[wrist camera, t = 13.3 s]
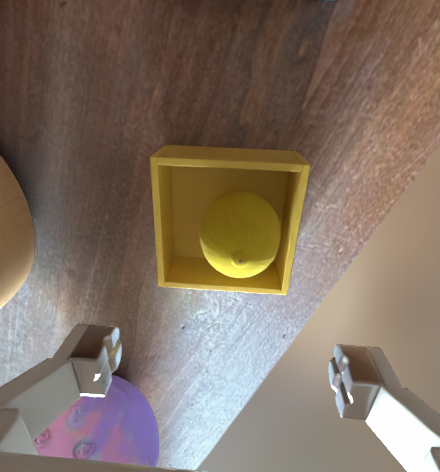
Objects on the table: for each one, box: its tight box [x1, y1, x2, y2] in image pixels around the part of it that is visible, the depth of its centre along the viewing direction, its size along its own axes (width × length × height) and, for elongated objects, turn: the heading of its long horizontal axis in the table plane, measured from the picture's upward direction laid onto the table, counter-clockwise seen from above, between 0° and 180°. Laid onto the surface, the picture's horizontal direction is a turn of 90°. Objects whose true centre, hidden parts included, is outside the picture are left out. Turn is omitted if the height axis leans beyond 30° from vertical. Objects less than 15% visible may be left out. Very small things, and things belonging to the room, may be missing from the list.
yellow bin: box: [150, 145, 310, 295], centre depth 22 cm, size 10×10×4 cm
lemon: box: [199, 190, 281, 278], centre depth 20 cm, size 6×6×8 cm
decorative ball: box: [33, 375, 159, 467], centre depth 29 cm, size 15×15×15 cm
